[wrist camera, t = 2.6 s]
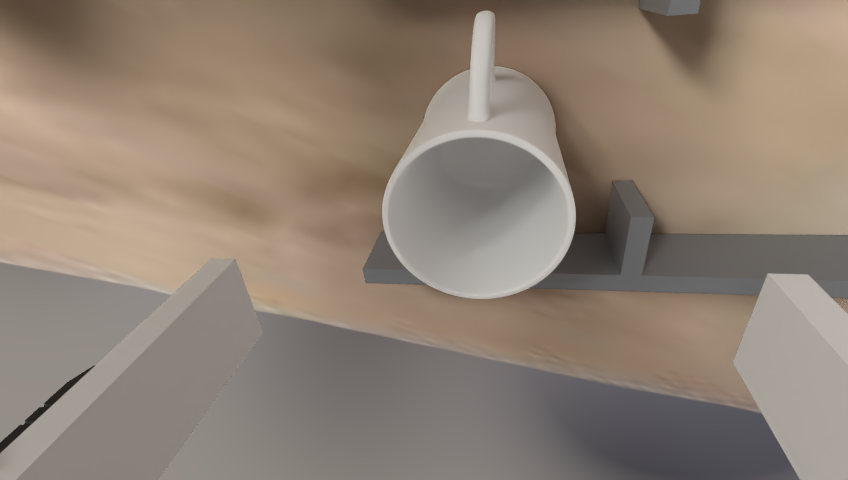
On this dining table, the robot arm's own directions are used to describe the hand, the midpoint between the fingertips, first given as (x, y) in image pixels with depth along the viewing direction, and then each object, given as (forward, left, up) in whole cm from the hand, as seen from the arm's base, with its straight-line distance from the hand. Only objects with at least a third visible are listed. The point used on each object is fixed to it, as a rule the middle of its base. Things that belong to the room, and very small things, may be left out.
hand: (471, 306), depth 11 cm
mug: (0, 0, -19) cm, 19 cm away
